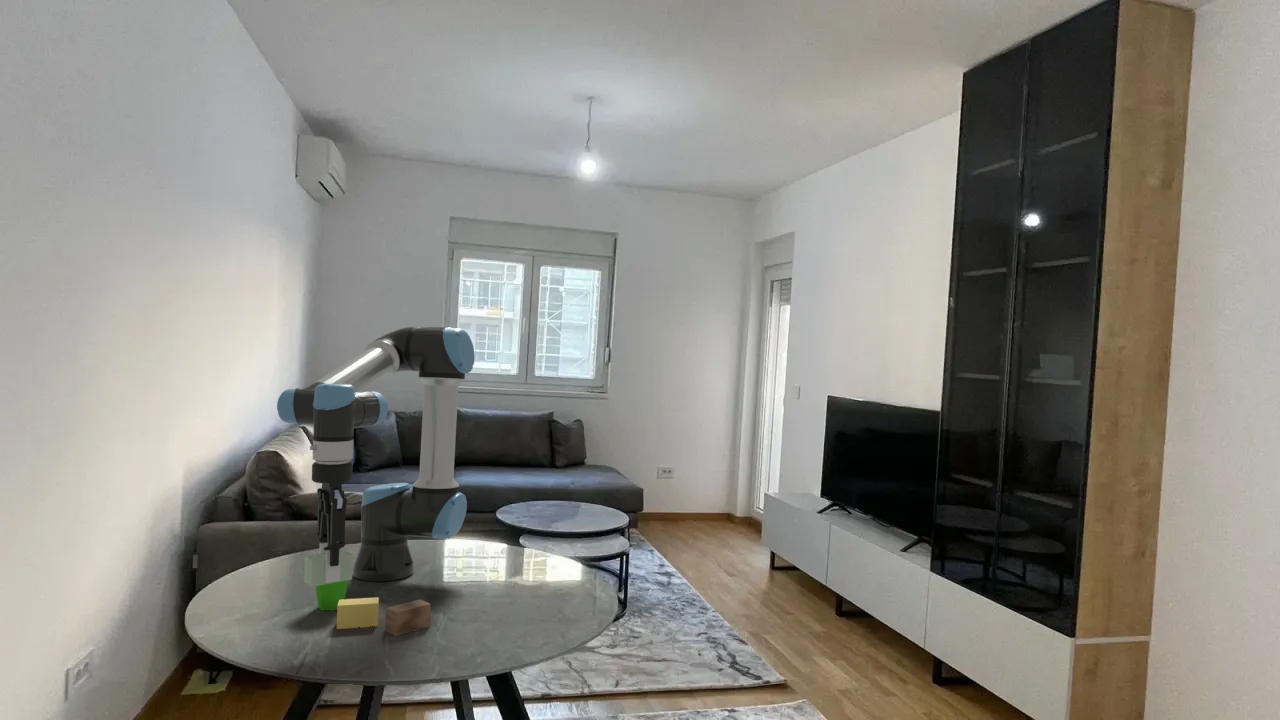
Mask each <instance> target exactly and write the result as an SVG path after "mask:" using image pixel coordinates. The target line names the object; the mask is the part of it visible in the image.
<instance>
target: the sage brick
mask: <svg viewBox="0 0 1280 720" xmlns="http://www.w3.org/2000/svg"><path fill="white" fill-rule="evenodd" d="M325 557H326V553H325V554H319V553H318V554H313V555H307V556H304V565H303V567H304V569H303V570H304V571H303V583H305V584H306V585H308V586H310V587H316V586H319V585H324V584H330V583H335V582H329V583H325ZM353 557H354V555H353V553H350V552H349V551H347V550H341V569H340V581H336V582H341V581H346V580H348V581H350V580H353V565H354V562H353V560H354V559H353Z"/></svg>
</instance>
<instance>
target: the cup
mask: <svg viewBox="0 0 1280 720" xmlns="http://www.w3.org/2000/svg"><path fill="white" fill-rule="evenodd" d="M354 558H355V557H354V556H353V560H354ZM348 583H349V580H346V581H341V582H335V583H330V584H324V585H319V586H315V591H316V599H317V600H316V601H317V605H318V606H317V607H318V608H319V610H320V611H325V610H327V612H328V610H331V611H337V606H338V602H339V600H341V599H346V593H347V589H348V588H347V587H348Z"/></svg>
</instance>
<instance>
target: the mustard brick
mask: <svg viewBox="0 0 1280 720" xmlns="http://www.w3.org/2000/svg"><path fill="white" fill-rule="evenodd" d="M379 601H380V597H378V596H377V597H362V598H345V599H341V600H339V602H338V606H337V610H336V612H337V613H336V614H337V615H336V630H343V629H359V628H358V627H360V628H370V626H371V628H372V626H375V627H378V624H379V607H380V606H379V605H380V604H379V603H380V602H379Z"/></svg>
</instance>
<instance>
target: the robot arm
mask: <svg viewBox="0 0 1280 720" xmlns="http://www.w3.org/2000/svg"><path fill="white" fill-rule="evenodd" d="M474 365H475V349H474V344H473V341H472V339H471V337H470V334H469V333H467V332H466V331H465V330H464V329H463V328H459V327H458V328H456V327H450V326H449V327H448V326H447V327H446V326H445V327H442V326H441V327H438V326H433V327H431V326H427V327H426V326H409V327H407V326H406V327H403V328H399V329H396V330H393V331H391V332H388V333H386V334H384V335H382V336H380V337H378V338H376V339H375V340H374V339H373V341H371V342H370V343H368V344H367V346H366V347H365V350H364V351H363V352H361V353H360V354H357V356H355V357H353V358H352V359H350V360H348V361H347V362H346V363H343V364H342V365H341V366H339V367H337V368H336V369H334V370H332V371H331V372H329V373H327V374H326V375H325V376H323V377H322V378H320V379H318V380H316V381H315V382H313V383H311V384H310V385H308V386H306V387H304V388H287V389H285V390H283V392H281V393H280V395H279V397H278V400H277V402H276V403H277V404H276V409H277V415H278V417H279V418H280V420H281V421H282V422H284V423H287V424H295V425H298V426H299V425H313V432H312V433H313V436H312V444H313V445H309V451H312V460H313V461H314V462H313V464H312V465H311V480H312V482H314V483H317V484H321V488H320V487H319V488H317V490H316V493H317V520H316V521H317V525H316V529H317V530H316V531H317V532H316V537H318V541H319V550H318V555H319V554H325V553H326V557H325V583H329V582H336V581H340V569H341V551H342V548H345V545H346V543H345V541H346V540H345V539H346V537H345V536H346V535H345V534H346V510H347V509H346V508H347V503H348V499H347V497H345V491H344V490H343V486H342V485H343V483H347V482H350V481H351V480H353V468H354V467H353V463H352V461H351V460H353V459H354V441H355V439H354V432H355V431H354V429H360V428H367V427H368V428H370V427H374V426H376V425H377V426H378V425H379V424H381V423H382V422H383V421H384V420H386V418H387V416H388V412H389V404H388V401H387V398H386V397H385V396H384V395H383V394H382V393H380V392H378V391H374V390H373V391H371V390H365V389H366V388H368V387H369V386H371V385H372V384H374V383H375V382H377V381H378V380H379V379H381V378H382V377H389V376H391V375H393V374H395V373H397V372H405V371H406V372H418V379H419V381H421V383H422V384H423V385H424V386H423V387H424V388H423V400H422V401H423V403H422V405H423V406H422V420H421V440H420V456H419V457H420V458H419V475H418V479H417V480H416V481H415V482H414V483H412V488H411V486H410V483H408V482H394V483H384V484H380V485H379V484H378V485H373V486H370V487H367V488H366V489H365V490H364V491H363V493H362V499H361V505H360V508H361V520H360V521H361V523H360V524H361V525H360V528H361V529H360V531H361V532H360V537H361V538H360V546H359V549H358V552H357V554H356V558H355V560H354V562H353V567H352V578H354V579H357V580H361V581H363V582H364V581H365V582H390V581H396V580H401V579H405V578H407V577H410V576H412V575H413V574H414V572H415V568H414V567H415V563H414V562H415V561H414V558H413V556H412V552H411V549H410V546H409V537H422V538H433V539H435V540H437V539H451V538H453V537H454V536H456V535H457V534H458V533H459V531H460V529H461V527H462V526H463V523H464V521H465V518H466V514H467V507H468V502H467V501H468V500H467V497H466V495H465V494H464V493H462V492H461V491H460V490H459V489H460V484H459V483H458V481H456V479H455V478H454V474H455V456H456V455H455V454H456V437H457V420H458V419H457V417H458V401H459V397H458V396H459V387H460V386H461V384H462V383H463V382H465V379H466V375H467V374H469V373H470V372H472V371H473V369H474Z"/></svg>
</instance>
